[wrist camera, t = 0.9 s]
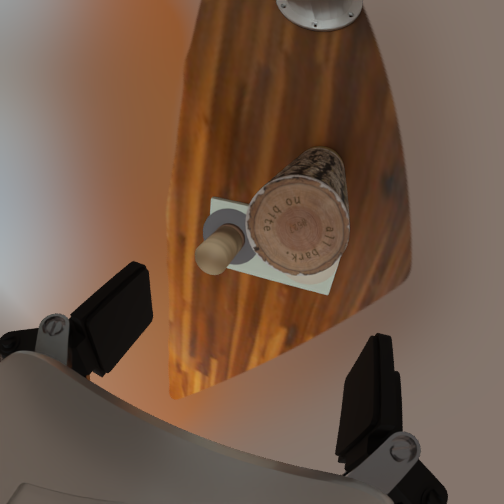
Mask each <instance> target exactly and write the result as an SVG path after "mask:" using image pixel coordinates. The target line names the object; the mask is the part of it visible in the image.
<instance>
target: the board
mask: <svg viewBox="0 0 504 504" xmlns="http://www.w3.org/2000/svg"><path fill="white" fill-rule="evenodd" d="M248 207H249V204H246V203H241V202H237V201H232V200H227V199H223V198H218V197H213V198H211V209H210V216H209V217H208V218H207V220H206V222H205V224H204V228H203V237H204V241H205V240H206V239H207V238H208V237H209V236H210V235H212V234H213V233H214V232H215V231H216V230H217V229H218V228H219V227H220V226H221V225H223V224H226V223H231V224H235V225H237V226H238V227H239V228H240V229H241V230H242V231H243V233H244V235H245V244H244V246H243V247H242V249H241V250H240V251H239V252H238V253H237V255H236V256H235V257H234V259H233V260H232V261H231V262H230V264H229V265H228V266H227V268H229V269H233V270H236V271H240V272H244V273H247V274H251V275H254V276H258V277H262V278H265V279H269V280H273V281H276V282H280V283H284V284H287V285H291V286H295V287H299V288H302V289H306V290H310V291H314V292H317V293H321V294H325V295H328V294H329V291H330V288H331V285H332V282H333V279H334V276H335V273H336V271H335V272H334V274H333V275H332V276H331V277H330V278H329V279H327V280H326V281H324V282H321V283H318V284H313V285H307V284H301V283H298V282H296V281H293V280H292V279H290V278H289V277H288V276H286V275H285V274H284V273H281V272H279V271H277V270H275V269H273V268H271V267H270V266H268V265H267V264H266V263H264V262H263V261H262V260H261V259H260V258H259V257H258V256H257V254H256V253H255V252H254V250H253V249H252V247H251V245H250V243H249V240H248V237H247V233H246V225H245V221H246V213H247V210H248ZM339 260H340V258H339ZM336 270H337V269H336Z"/></svg>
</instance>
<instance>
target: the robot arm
mask: <svg viewBox="0 0 504 504" xmlns="http://www.w3.org/2000/svg"><path fill="white" fill-rule="evenodd" d="M276 3H277V5H278V7H279V9H280V11H281V12H282V14H283V15H284V16H285V17H286V18H287V19H288V20H290V21H291V22H292V23H294V24H296V25H298V26H300V27H302V28H305V29H308V30H313V31H334V30H338V29H342V28H344V27H346V26H348V25H350V24H351V23H352V22H354V21H355V20H356V18H357V17H358V16H359V14H360V12H361V10H362V5H363V0H276ZM283 7H286V8H283ZM349 16H352V17H349ZM314 25H317V27H314ZM70 315H71V318H69V319H68V318H67V317H66V316H65V315H62V314H51V315H49V316H47V317H46V318H44V319H43V320H42V321H41V323H40V326H39V328H35V329H27V330H19V331H11V332H8V333H6V334H4V335H3V336H2V337H1V338H0V504H447V500H448V494H447V490H446V489H445V487H444V486H443V485H442V484H441V483H440V482H439V481H438V479H437V478H435V476H434V475H433V474H432V473H431V472H430V471H429V470H428V469H427V468H426V467H425V466H424V465H423V463H422V462H421V461H420V460H419V457H420V453H421V448H420V444H419V441H418V440H417V439H416V437H415V436H413V435H412V434H410V433H408V432H403V429H402V428H403V426H402V397H401V383H400V382H401V381H400V374H399V372H398V371H394V361H393V360H394V359H393V348H392V339H391V336H388V335H384V334H380V333H377V334H376V335H375V336H371V337H370V338H369V340H368V342H367V343H366V345H365V347H364V349H363V350H362V352H361V354H360V356H359V357H358V359H357V361H356V362H355V364H354V366H353V367H352V369H351V371H350V372H349V374H348V375H347V377H346V380H345V384H344V392H343V402H342V410H341V417H340V426H339V432H338V438H337V445H336V452H335V454H336V455H337V456H339V458H338V462H339V463H345V470H346V472H344V473H343V474H342V475H337V474H333V473H328V472H323V471H318V470H313V469H308V468H304V467H299V466H294V465H290V464H286V463H283V462H279V461H274V460H271V459H266V458H263V457H260V456H256V455H253V454H249V453H246V452H243V451H240V450H237V449H234V448H231V447H227V446H225V445H222V444H219V443H216V442H213V441H211V440H208V439H205V438H203V437H200V436H198V435H195V434H192V433H190V432H188V431H185V430H183V429H181V428H178V427H176V426H174V425H172V424H169V423H167V422H165V421H163V420H161V419H159V418H156V417H154V416H152V415H150V414H148V413H146V412H144V411H142V410H140V409H138V408H137V407H135V406H133V405H131V404H129V403H127V402H125V401H123V400H122V399H120V398H118V397H116V396H115V395H113V394H111V393H109V392H108V391H106V390H104V389H103V388H101V387H99V386H98V385H96V384H94V383H93V382H91V381H90V373H91V372H92V371H93V372H94V373H96V374H97V375H99V376H101V377H103V376H104V375H105V373H109V372H110V371H111V370H112V369H113V368H114V367H115V365H116V364H117V363H118V362H119V360H120V359H121V358H122V357H123V356H124V354H125V353H126V352H127V351H128V350H129V348H130V347H131V346H132V345H133V344H134V342H135V341H136V340H137V339H138V338H139V336H140V335H141V334H142V333H143V332H144V330H145V329H146V328H147V327H148V326H149V324H150V323H151V322H152V319H153V311H152V302H151V292H150V280H149V271H148V270H147V269H146V266H145V265H143V264H140V263H138V262H134V261H133V262H131V263H129V264H128V265H127V266H126V267H125V268H123V269H122V270H121V271H120V272H119V273H117V274H116V275H115V276H114V277H113V278H111V279H110V280H109V281H108V282H107V283H105V284H104V285H103V286H102V287H101V288H100V289H99V290H97V291H96V292H95V293H94V294H93V295H92V296H90V298H88V299H87V300H86V301H85V302H84V303H83V304H81V305H80V306H79V307H78V308H77V309H76V310H75V311H74V312H73V313H71V314H70Z"/></svg>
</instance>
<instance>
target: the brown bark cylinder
mask: <svg viewBox="0 0 504 504" xmlns="http://www.w3.org/2000/svg"><path fill="white" fill-rule="evenodd" d="M245 225H246V233H247V237H248V240H249V243H250V245H251V247H252V249H253V250H254V252H255V253H256V254H257V256H258V257H259V258H260V259H261V260H262V261H263V262H264V263H266V264H267V265H268V266H270V267H271V268H273V269H275V270H277V271H279V272H281V273H284V274H288V275H294V276H308V275H313V274H317V273H320V272H322V271H324V270H326V269H328V268H329V267H331V266H332V265H333V264H335V263H336V262H337V261H338V259H339V258H340V257H341V256H342V254H343V252H344V251H345V249H346V246H347V243H348V240H349V233H350V219H349V206H348V196H347V186H346V177H345V169H344V164H343V161H342V159H341V157H340V156H339V155H338V154H337V153H336V152H335V151H334V150H332V149H330V148H328V147H324V146H315V147H312V148H310V149H308V150H306V151H305V152H304V153H302V154H301V155H300V156H299V157H298V158H296V159H295V160H294V161H293V162H292V163H290V164H289V165H288V166H287V167H286V168H284V169H283V170H282V171H281V172H280V173H278V174H277V175H276V176H275V177H274V178H272V179H271V180H270V181H269V182H268V183H267V184H265V185H264V186H263V187H262V188H261V189H260V190H259V191H258V192H257V193H256V195H255V196H254V197H253V199H252V201H251V202H250V204H249V207H248V210H247V213H246V221H245Z"/></svg>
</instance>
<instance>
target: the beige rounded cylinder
mask: <svg viewBox="0 0 504 504" xmlns="http://www.w3.org/2000/svg"><path fill="white" fill-rule="evenodd" d="M244 244H245V235H244V233H243V231H242V230H241V229H240V228H239V227H238V226H237V225H235V224H231V223H226V224H223V225H221V226H220V227H219V228H218V229H217V230H216V231H215V232H214V233H213V234H212V235H210V236H209V237H208V238H207V239H206V240H205V241H204V242H203V243H202V244H201V245H200V246H199V247H198V248H197V249H196V252H195V260H196V263H197V264H198V266H199V267H200V268H201V269H202V270H203V271H204V272H206V273H208V274H211V275H218V274H221V273H222V272H223V271H224V270H225V269H226V268H227V266H228V265H229V264H230V262H231V261H232V260H233V259H234V257H235V256H236V255H237V253H238V252H239V251H240V250H241V249H242V247H243V246H244Z"/></svg>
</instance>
